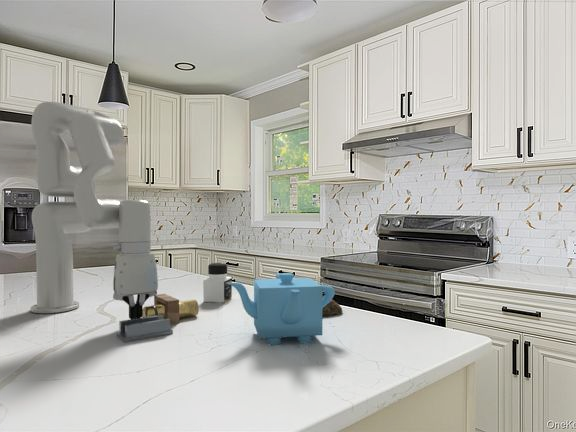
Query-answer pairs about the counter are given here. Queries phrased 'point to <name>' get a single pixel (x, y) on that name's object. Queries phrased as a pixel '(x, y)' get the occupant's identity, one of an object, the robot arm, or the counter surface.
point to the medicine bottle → (217, 284)
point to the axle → (185, 309)
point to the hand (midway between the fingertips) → (135, 320)
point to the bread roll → (331, 309)
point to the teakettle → (286, 307)
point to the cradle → (143, 328)
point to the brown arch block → (169, 307)
